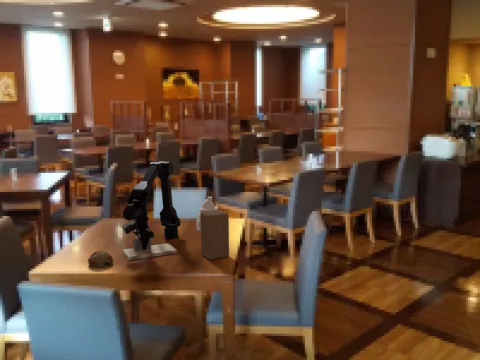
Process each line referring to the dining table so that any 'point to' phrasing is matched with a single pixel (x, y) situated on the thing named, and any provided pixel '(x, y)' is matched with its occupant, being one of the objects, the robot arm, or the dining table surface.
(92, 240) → the dining table surface
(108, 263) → the brown dome
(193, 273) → the dining table surface
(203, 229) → the wooden block
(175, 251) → the board
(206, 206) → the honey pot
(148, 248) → the block
